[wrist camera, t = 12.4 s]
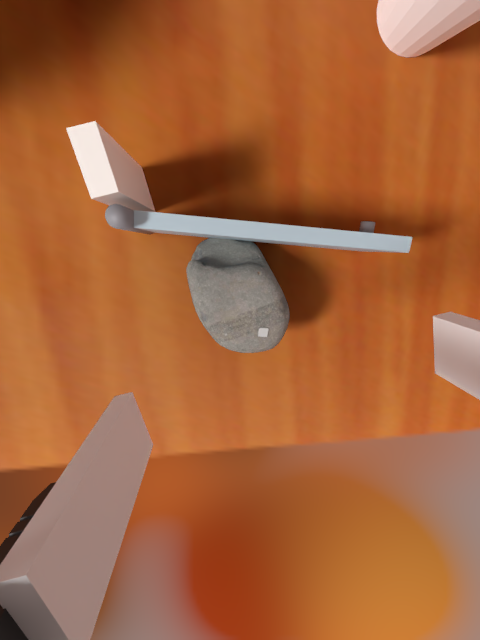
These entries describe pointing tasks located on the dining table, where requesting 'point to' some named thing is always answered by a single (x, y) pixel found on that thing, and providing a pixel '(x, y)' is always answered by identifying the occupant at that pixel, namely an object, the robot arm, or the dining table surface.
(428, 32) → the cup
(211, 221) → the door
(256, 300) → the stone
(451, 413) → the dining table surface
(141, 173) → the tilted pink plank
